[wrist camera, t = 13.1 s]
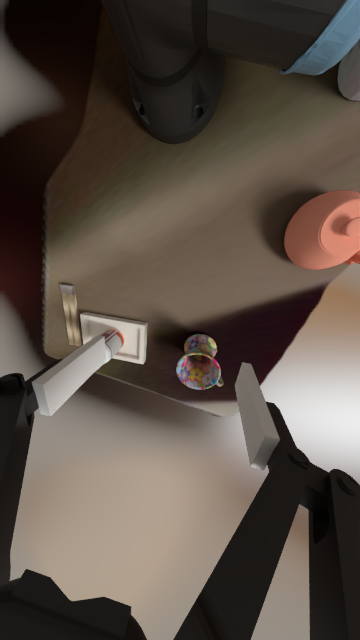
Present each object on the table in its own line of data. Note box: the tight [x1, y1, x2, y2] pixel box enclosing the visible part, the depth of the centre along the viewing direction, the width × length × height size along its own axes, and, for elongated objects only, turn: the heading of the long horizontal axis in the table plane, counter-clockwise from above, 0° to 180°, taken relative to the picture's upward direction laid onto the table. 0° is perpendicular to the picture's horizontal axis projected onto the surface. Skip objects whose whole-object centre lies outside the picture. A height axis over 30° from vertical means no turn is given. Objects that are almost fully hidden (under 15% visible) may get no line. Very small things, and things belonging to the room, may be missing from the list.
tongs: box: [60, 284, 81, 346], centre depth 48 cm, size 18×3×1 cm, turn 173°
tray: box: [80, 312, 148, 364], centre depth 47 cm, size 12×18×2 cm, turn 83°
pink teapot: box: [284, 190, 360, 269], centre depth 28 cm, size 12×14×10 cm
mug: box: [176, 334, 223, 389], centre depth 40 cm, size 12×9×11 cm
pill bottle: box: [98, 329, 125, 369], centre depth 43 cm, size 6×6×11 cm
